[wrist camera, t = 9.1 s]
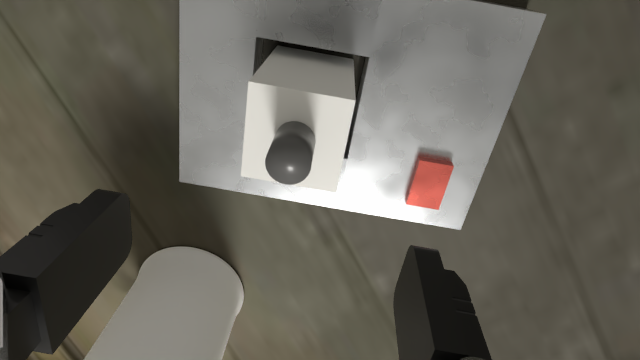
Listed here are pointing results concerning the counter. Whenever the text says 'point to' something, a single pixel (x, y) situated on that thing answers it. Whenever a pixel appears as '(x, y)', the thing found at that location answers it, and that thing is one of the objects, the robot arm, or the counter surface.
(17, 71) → the counter surface
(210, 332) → the mug
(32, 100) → the counter surface
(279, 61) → the plug
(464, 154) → the socket plate
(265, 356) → the counter surface
